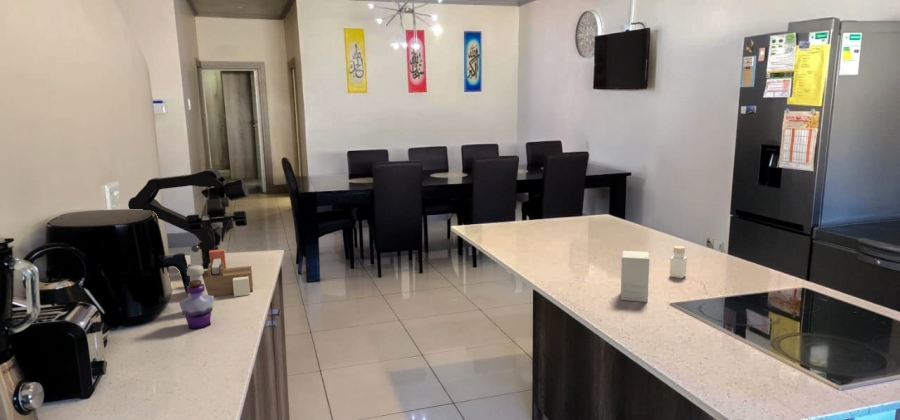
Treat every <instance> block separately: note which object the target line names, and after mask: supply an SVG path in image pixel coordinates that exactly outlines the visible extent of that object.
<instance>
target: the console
mask: <svg viewBox="0 0 900 420" xmlns="http://www.w3.org/2000/svg"><path fill="white" fill-rule="evenodd" d="M206 269H207V270H204V273H203V280H204V283H205V287H206V290H207V293H208V295H210V296H214V297H219V296H229V295H234V289H233V278H238V277H247V276H249V287H250V293H253V292H254V291H253V290H254V283H253V282H254V281H253V272H252V265H246V266H238V267H237V266H236V267H226V269H224V262H221V264H220V273H219V274H212V263H209V266H208V268H206Z"/></svg>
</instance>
